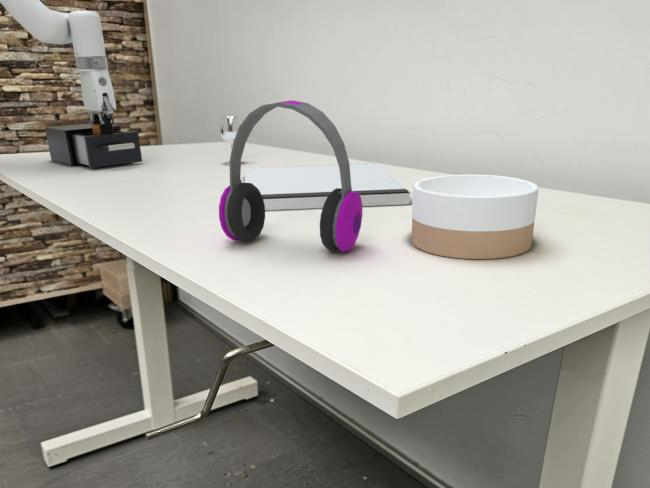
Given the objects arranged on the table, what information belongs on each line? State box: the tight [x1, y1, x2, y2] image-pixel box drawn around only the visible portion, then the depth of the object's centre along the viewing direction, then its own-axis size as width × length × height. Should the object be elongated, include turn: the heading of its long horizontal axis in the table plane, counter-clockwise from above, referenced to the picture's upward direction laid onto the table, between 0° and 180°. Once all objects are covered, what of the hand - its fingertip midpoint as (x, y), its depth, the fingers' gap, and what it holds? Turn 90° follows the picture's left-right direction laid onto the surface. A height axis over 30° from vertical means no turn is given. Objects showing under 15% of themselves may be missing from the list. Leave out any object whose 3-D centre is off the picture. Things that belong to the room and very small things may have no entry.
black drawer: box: [69, 130, 143, 169], centre depth 162 cm, size 18×14×8 cm
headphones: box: [218, 99, 364, 253], centre depth 85 cm, size 21×9×20 cm, turn 66°
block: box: [92, 124, 114, 135], centre depth 161 cm, size 4×4×4 cm
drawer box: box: [44, 122, 122, 168], centre depth 172 cm, size 15×16×10 cm
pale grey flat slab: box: [243, 162, 412, 211], centre depth 127 cm, size 35×2×31 cm
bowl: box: [411, 174, 539, 260], centre depth 87 cm, size 17×17×8 cm
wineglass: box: [219, 115, 243, 166], centre depth 160 cm, size 6×6×12 cm
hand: (104, 138), depth 162 cm, fingers closed on block, 4 cm apart
